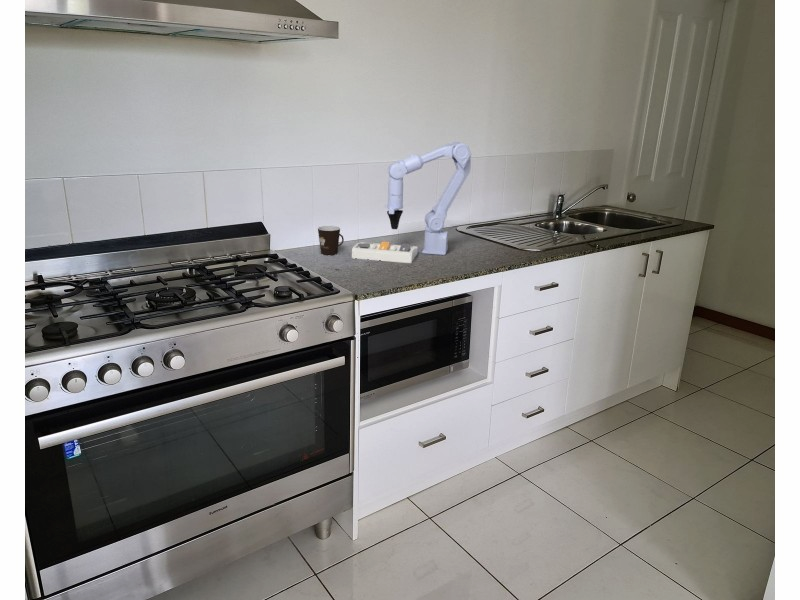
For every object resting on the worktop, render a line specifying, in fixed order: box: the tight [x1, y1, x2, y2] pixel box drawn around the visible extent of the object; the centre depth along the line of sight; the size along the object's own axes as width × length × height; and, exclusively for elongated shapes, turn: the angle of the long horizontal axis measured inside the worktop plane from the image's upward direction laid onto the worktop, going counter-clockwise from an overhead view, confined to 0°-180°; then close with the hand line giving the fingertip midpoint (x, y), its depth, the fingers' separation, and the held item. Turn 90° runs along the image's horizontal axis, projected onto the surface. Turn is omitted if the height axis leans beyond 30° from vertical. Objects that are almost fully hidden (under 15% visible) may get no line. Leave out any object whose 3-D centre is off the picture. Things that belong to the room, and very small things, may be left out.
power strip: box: [351, 241, 419, 264], centre depth 223 cm, size 23×14×4 cm, turn 79°
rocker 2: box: [399, 243, 411, 252], centre depth 219 cm, size 3×6×2 cm, turn 169°
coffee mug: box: [317, 225, 345, 256], centre depth 222 cm, size 12×9×10 cm
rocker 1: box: [358, 242, 370, 248], centre depth 221 cm, size 3×6×2 cm, turn 169°
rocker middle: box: [379, 240, 391, 250], centre depth 220 cm, size 3×6×2 cm, turn 169°
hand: (394, 228), depth 227 cm, fingers closed
